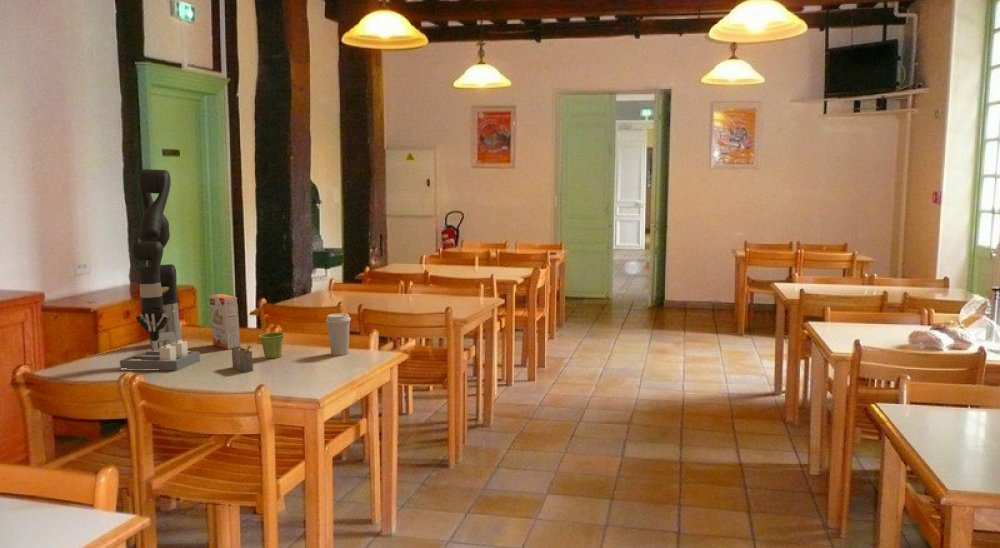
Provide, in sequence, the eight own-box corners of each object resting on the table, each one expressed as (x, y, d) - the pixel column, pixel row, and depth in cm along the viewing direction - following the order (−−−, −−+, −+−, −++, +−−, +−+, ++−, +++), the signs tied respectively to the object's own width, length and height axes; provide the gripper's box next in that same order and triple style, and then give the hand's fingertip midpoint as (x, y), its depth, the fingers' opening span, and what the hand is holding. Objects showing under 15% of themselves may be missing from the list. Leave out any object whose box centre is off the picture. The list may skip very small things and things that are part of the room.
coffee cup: (338, 357, 309) (336, 318, 308) (321, 354, 315) (319, 315, 313) (357, 352, 317) (355, 314, 315) (340, 349, 323) (339, 312, 321)
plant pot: (266, 361, 306) (265, 338, 305) (256, 357, 314) (254, 334, 312) (290, 357, 312) (288, 334, 311) (279, 353, 319) (278, 331, 318)
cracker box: (212, 345, 338) (208, 294, 335) (226, 343, 342) (222, 293, 339) (226, 350, 328) (223, 298, 325) (241, 347, 332) (237, 296, 329)
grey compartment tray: (145, 360, 313) (145, 350, 313) (199, 360, 310) (199, 350, 309) (120, 370, 298) (119, 360, 297) (177, 370, 294) (176, 360, 294)
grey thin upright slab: (254, 372, 291) (252, 345, 290) (246, 373, 289) (244, 346, 288) (241, 366, 300) (239, 340, 299) (232, 368, 298) (231, 342, 297)
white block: (178, 356, 309) (176, 339, 308) (188, 357, 308) (186, 339, 307) (172, 359, 305) (171, 341, 304) (182, 359, 304) (181, 341, 304)
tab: (166, 361, 301) (165, 343, 300) (176, 361, 300) (175, 343, 300) (160, 364, 297) (159, 345, 296) (170, 364, 296) (169, 346, 296)
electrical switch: (154, 359, 315) (151, 335, 314) (149, 358, 318) (146, 334, 318) (178, 355, 321) (176, 331, 321) (173, 354, 325) (170, 331, 324)
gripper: (173, 293, 308) (176, 338, 310) (140, 293, 310) (144, 338, 312) (162, 296, 300) (165, 343, 303) (128, 296, 302) (132, 342, 305)
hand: (154, 340), depth 308 cm, fingers closed
